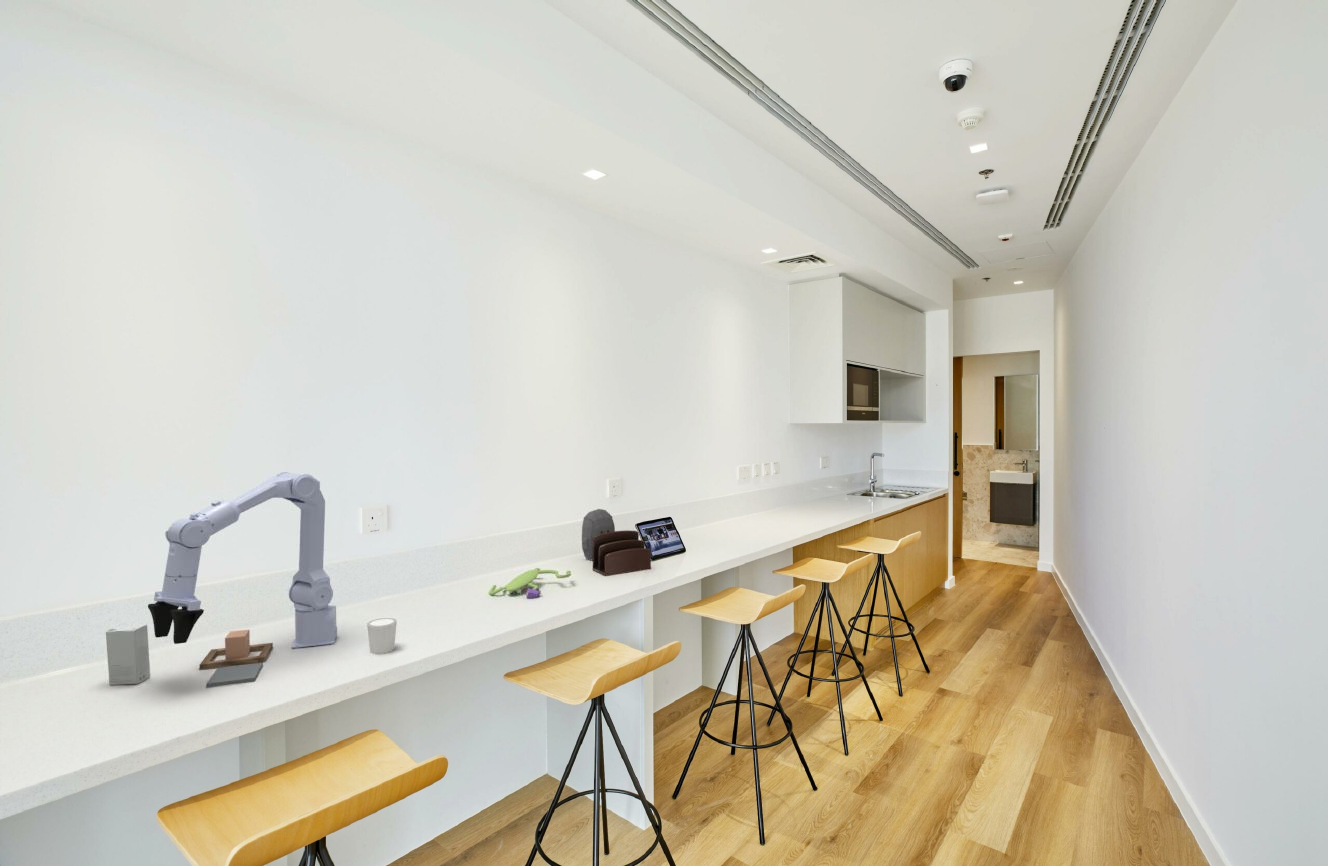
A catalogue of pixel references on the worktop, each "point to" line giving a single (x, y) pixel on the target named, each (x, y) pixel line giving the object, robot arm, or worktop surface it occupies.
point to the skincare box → (128, 654)
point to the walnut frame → (210, 657)
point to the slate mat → (235, 674)
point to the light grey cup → (381, 635)
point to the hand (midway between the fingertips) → (170, 639)
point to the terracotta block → (237, 644)
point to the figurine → (527, 582)
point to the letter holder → (620, 553)
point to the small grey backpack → (595, 529)
